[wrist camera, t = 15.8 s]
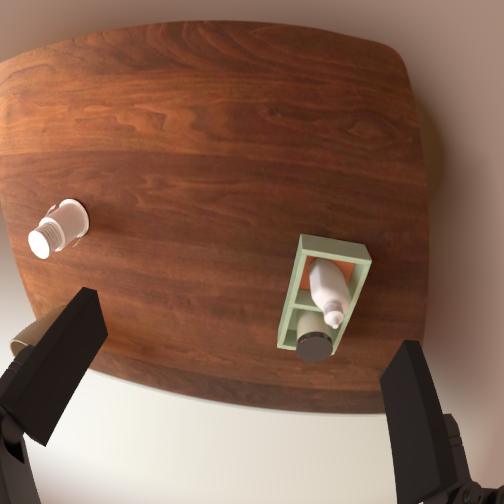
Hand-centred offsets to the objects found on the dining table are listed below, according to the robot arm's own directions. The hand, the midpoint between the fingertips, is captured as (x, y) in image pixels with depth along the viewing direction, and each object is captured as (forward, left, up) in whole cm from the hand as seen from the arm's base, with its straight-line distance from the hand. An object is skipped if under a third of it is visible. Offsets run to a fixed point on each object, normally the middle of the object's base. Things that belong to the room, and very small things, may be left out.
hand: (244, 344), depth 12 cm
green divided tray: (+2, +20, -30) cm, 36 cm away
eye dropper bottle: (0, +17, -30) cm, 34 cm away
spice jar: (+5, +24, -30) cm, 38 cm away
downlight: (+33, -9, -30) cm, 46 cm away
